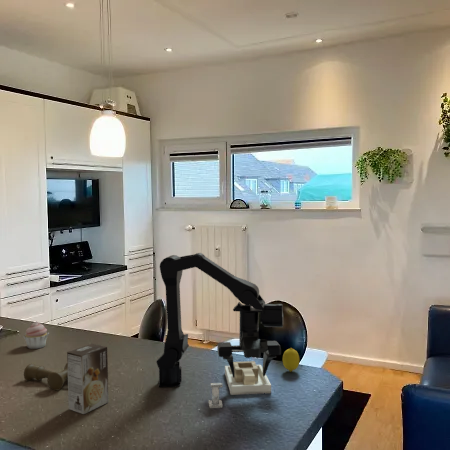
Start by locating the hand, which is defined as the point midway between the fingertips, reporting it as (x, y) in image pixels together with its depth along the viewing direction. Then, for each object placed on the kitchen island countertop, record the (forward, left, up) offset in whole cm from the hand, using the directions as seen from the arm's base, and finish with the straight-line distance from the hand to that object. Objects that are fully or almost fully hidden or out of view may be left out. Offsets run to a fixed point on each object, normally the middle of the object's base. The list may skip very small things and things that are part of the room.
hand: (248, 376), depth 143 cm
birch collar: (0, +4, -3) cm, 5 cm away
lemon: (+16, +12, -4) cm, 20 cm away
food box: (-46, -8, -4) cm, 47 cm away
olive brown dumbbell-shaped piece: (-60, +10, -4) cm, 61 cm away
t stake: (-11, -11, -4) cm, 16 cm away
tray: (0, +4, -4) cm, 6 cm away
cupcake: (-76, +48, -4) cm, 90 cm away
